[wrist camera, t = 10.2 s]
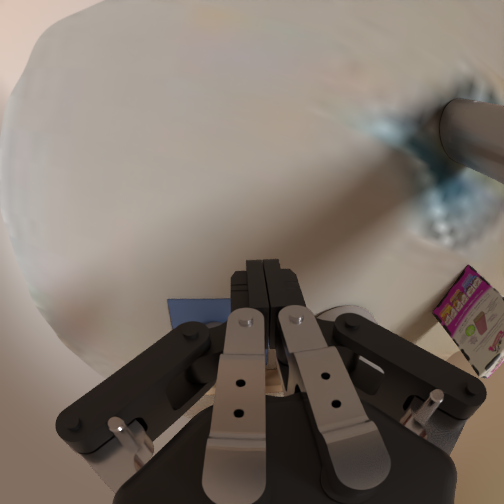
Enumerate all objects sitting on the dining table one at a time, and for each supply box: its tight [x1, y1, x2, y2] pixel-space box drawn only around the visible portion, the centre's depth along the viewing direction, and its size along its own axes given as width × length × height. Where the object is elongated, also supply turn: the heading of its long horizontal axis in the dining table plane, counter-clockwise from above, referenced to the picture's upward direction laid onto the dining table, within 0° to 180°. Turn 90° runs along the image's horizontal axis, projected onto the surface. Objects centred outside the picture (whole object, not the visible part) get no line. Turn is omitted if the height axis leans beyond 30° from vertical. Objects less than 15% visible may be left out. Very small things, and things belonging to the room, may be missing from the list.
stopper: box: [205, 369, 283, 395], centre depth 45 cm, size 20×2×4 cm, turn 89°
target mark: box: [168, 299, 269, 365], centre depth 42 cm, size 14×14×1 cm
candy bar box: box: [433, 265, 504, 378], centre depth 36 cm, size 11×5×16 cm, turn 152°
